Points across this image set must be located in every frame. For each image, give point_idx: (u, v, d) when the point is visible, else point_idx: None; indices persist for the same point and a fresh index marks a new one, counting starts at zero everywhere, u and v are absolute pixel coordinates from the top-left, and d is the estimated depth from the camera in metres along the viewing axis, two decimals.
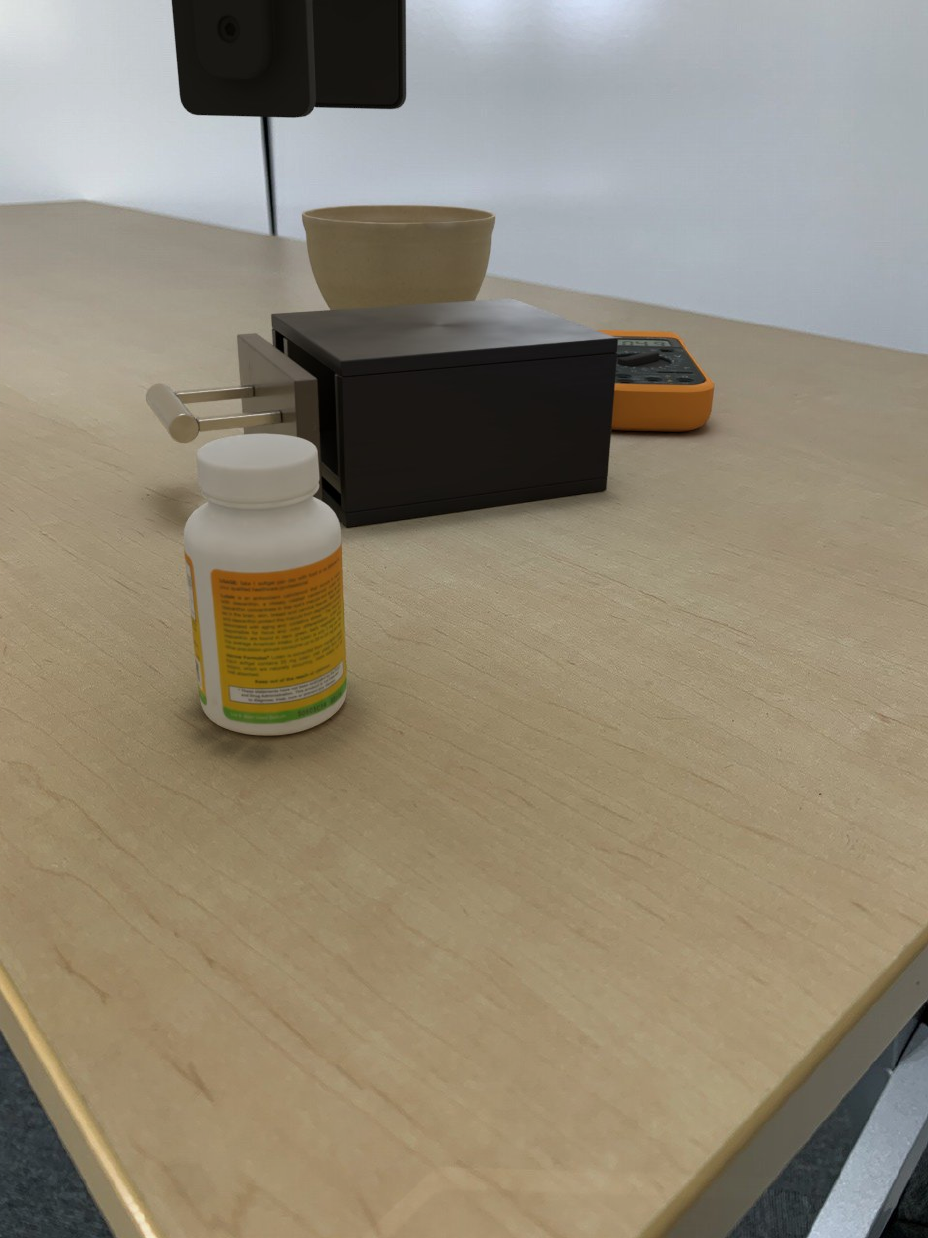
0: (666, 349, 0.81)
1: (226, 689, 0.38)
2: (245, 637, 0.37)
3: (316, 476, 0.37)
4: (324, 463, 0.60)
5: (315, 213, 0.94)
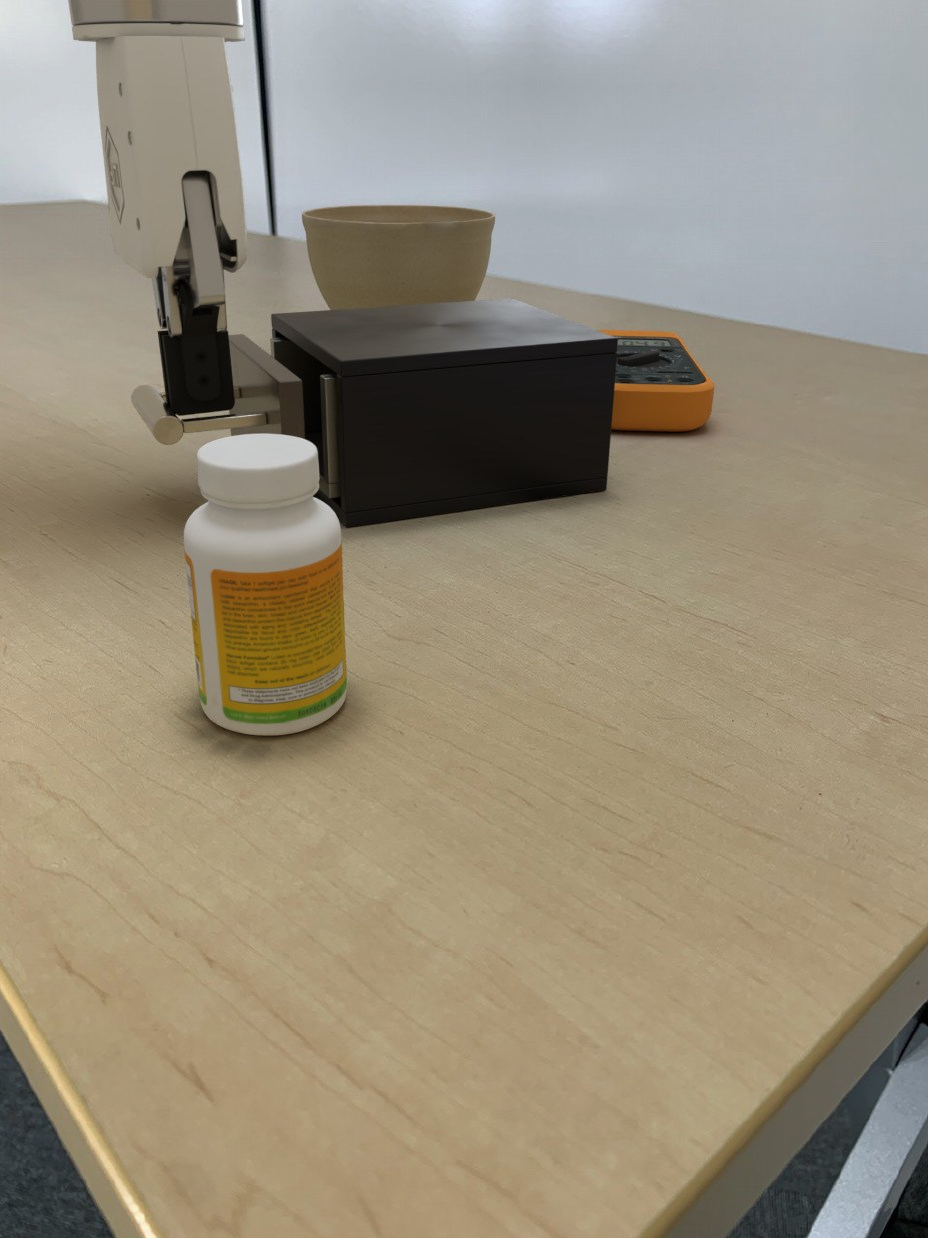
0: (666, 349, 0.81)
1: (226, 689, 0.38)
2: (246, 637, 0.37)
3: (316, 476, 0.37)
4: None
5: (315, 213, 0.94)
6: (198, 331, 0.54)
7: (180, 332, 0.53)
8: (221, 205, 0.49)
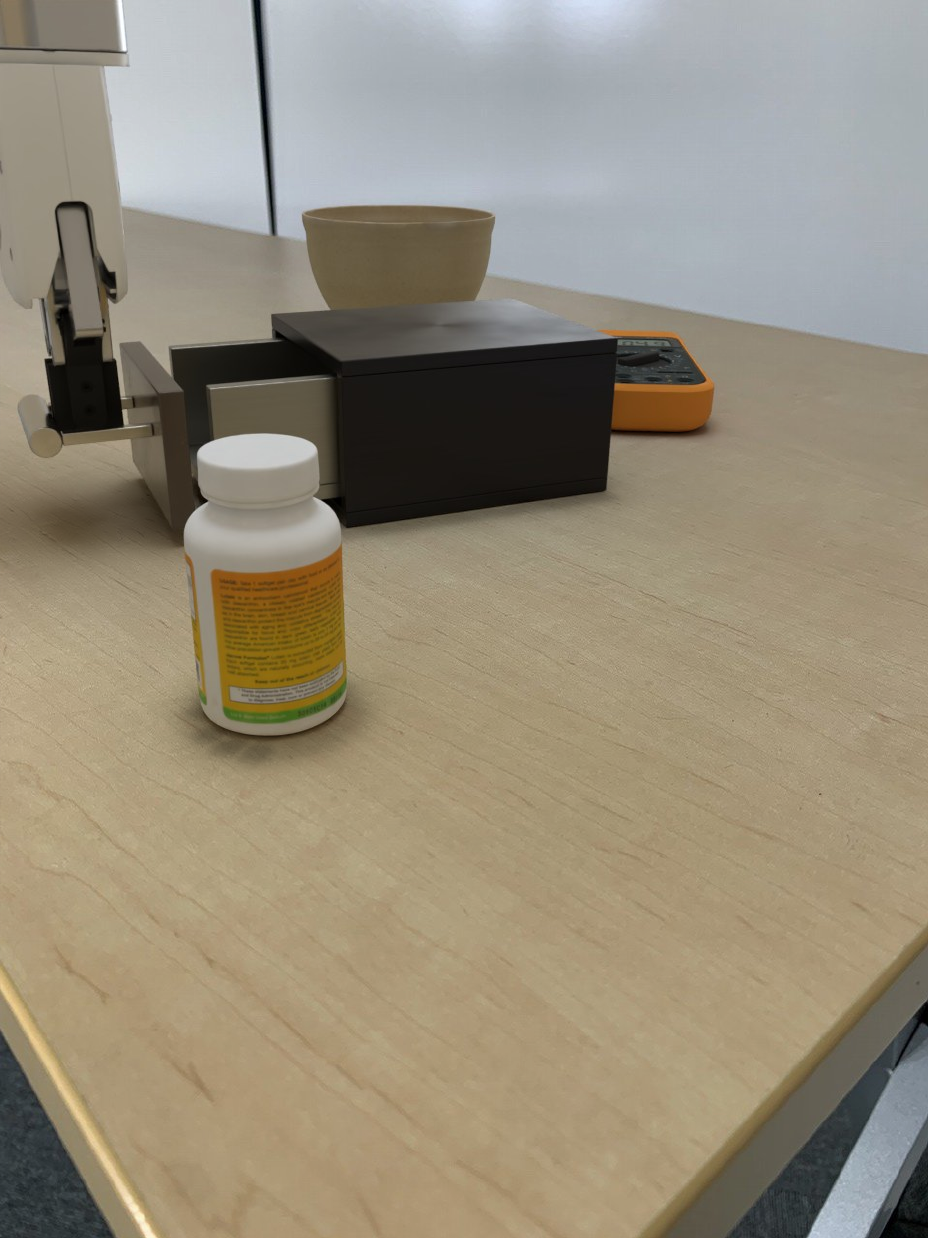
0: (666, 349, 0.81)
1: (226, 689, 0.38)
2: (246, 637, 0.37)
3: (316, 476, 0.37)
4: None
5: (315, 213, 0.94)
6: (82, 361, 0.52)
7: (63, 362, 0.52)
8: (98, 237, 0.48)
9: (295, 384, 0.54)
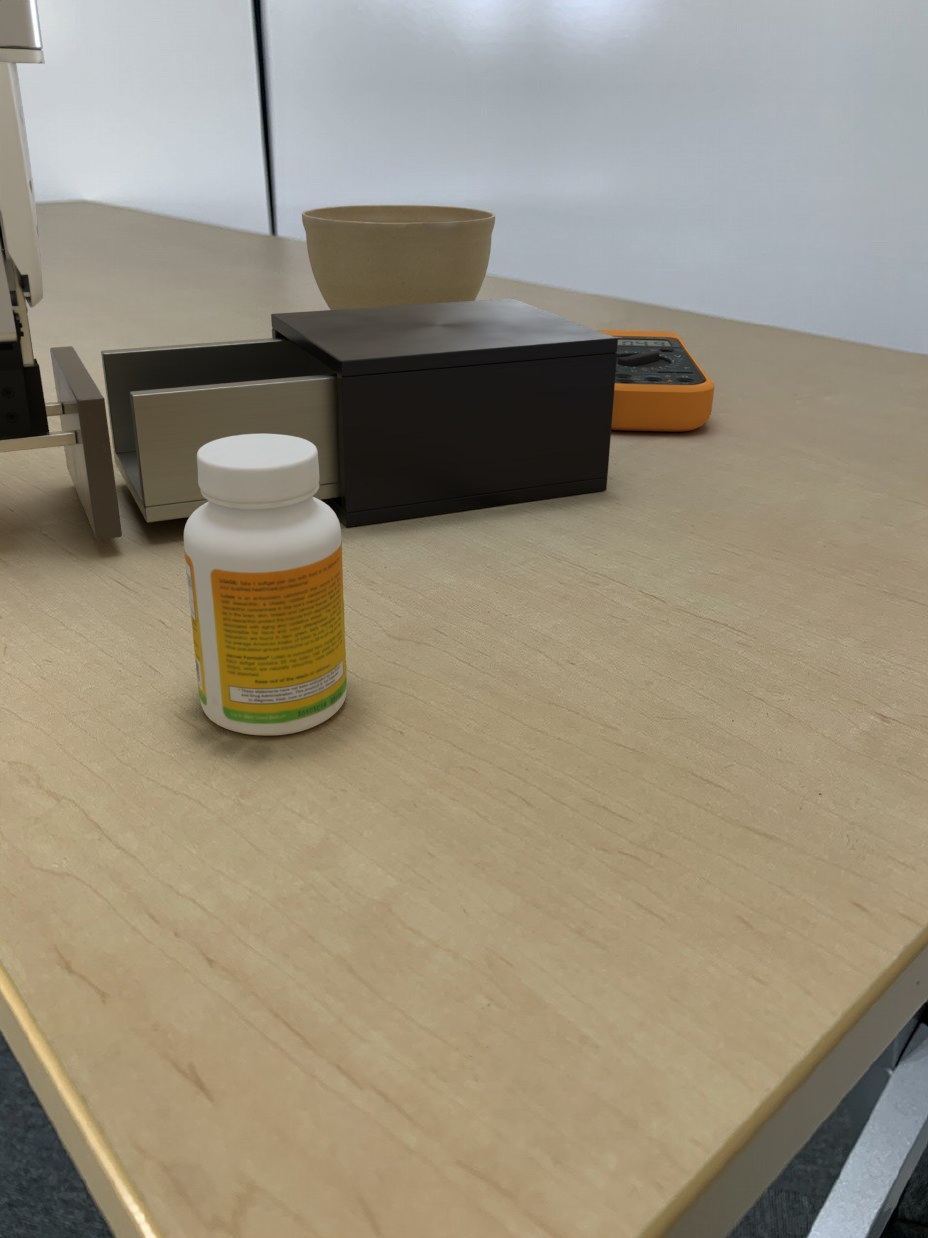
0: (666, 349, 0.81)
1: (226, 689, 0.38)
2: (245, 637, 0.37)
3: (316, 476, 0.37)
4: (135, 486, 0.56)
5: (315, 213, 0.94)
6: (2, 366, 0.51)
7: None
8: (8, 239, 0.46)
9: (223, 390, 0.53)
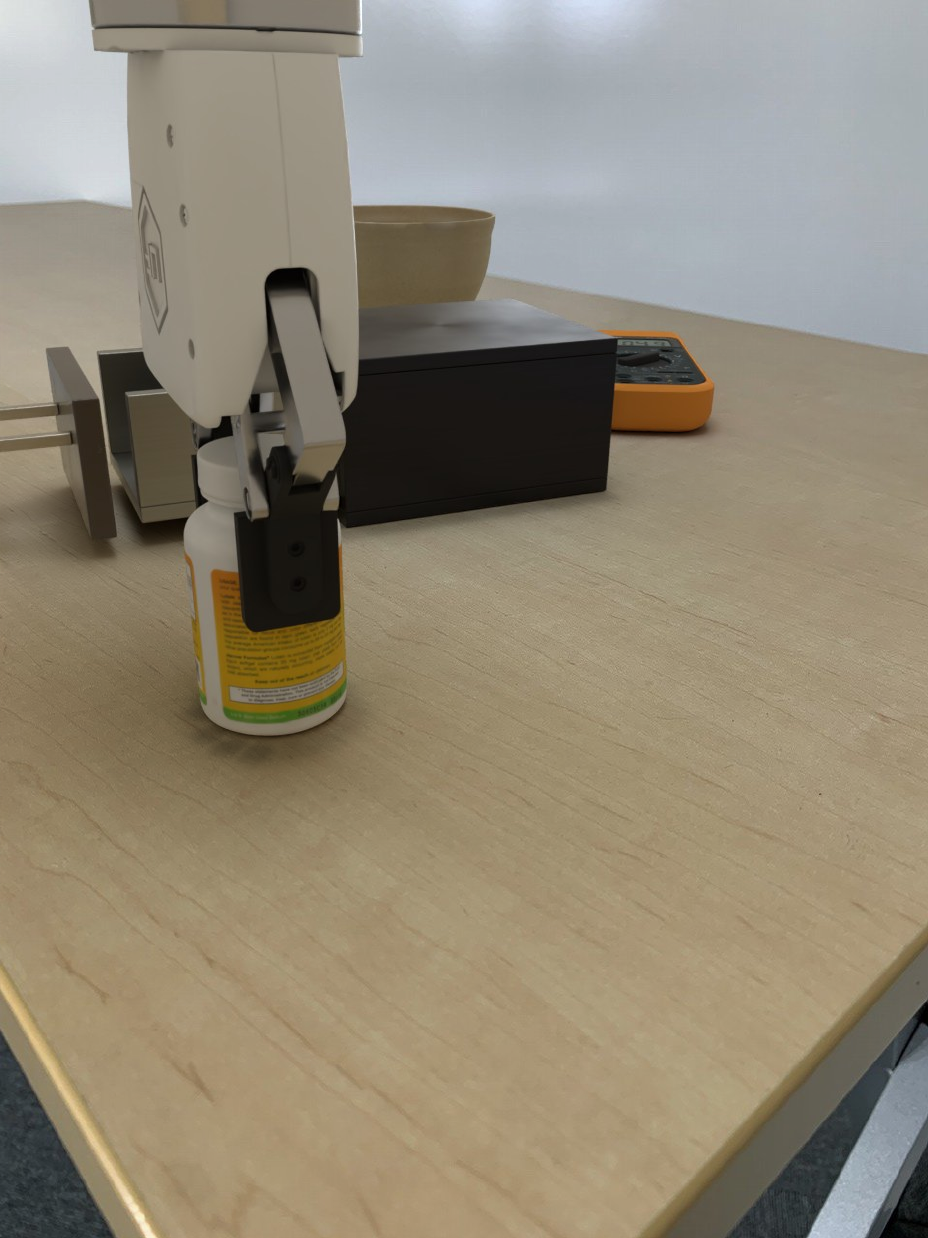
0: (666, 349, 0.81)
1: (226, 689, 0.38)
2: (246, 637, 0.37)
3: None
4: (131, 486, 0.56)
5: None
6: (294, 512, 0.33)
7: (265, 515, 0.33)
8: (324, 321, 0.31)
9: None
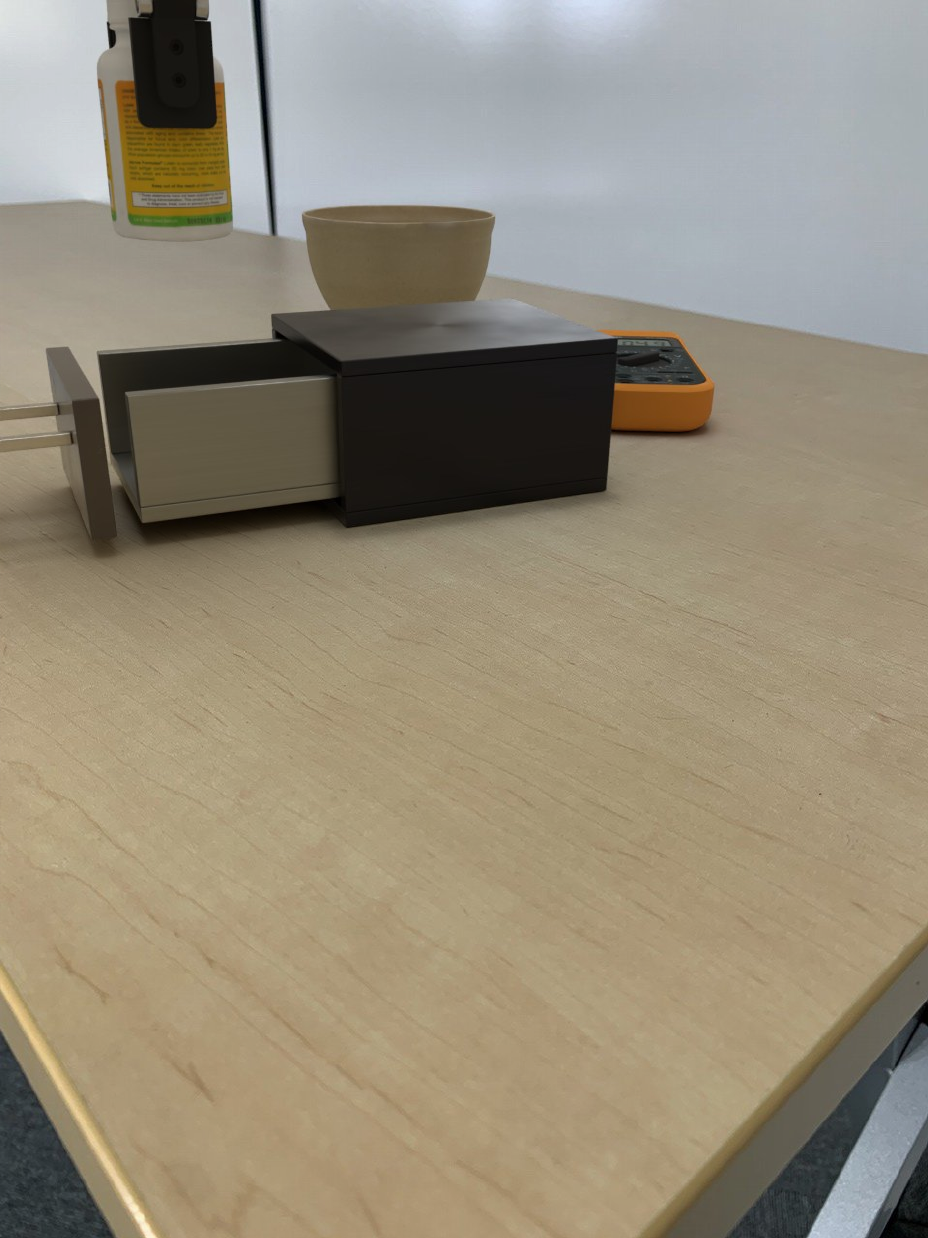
0: (666, 349, 0.81)
1: (129, 195, 0.48)
2: (143, 143, 0.47)
3: None
4: (131, 486, 0.56)
5: (315, 213, 0.94)
6: (173, 9, 0.43)
7: (150, 8, 0.43)
8: None
9: (218, 391, 0.52)
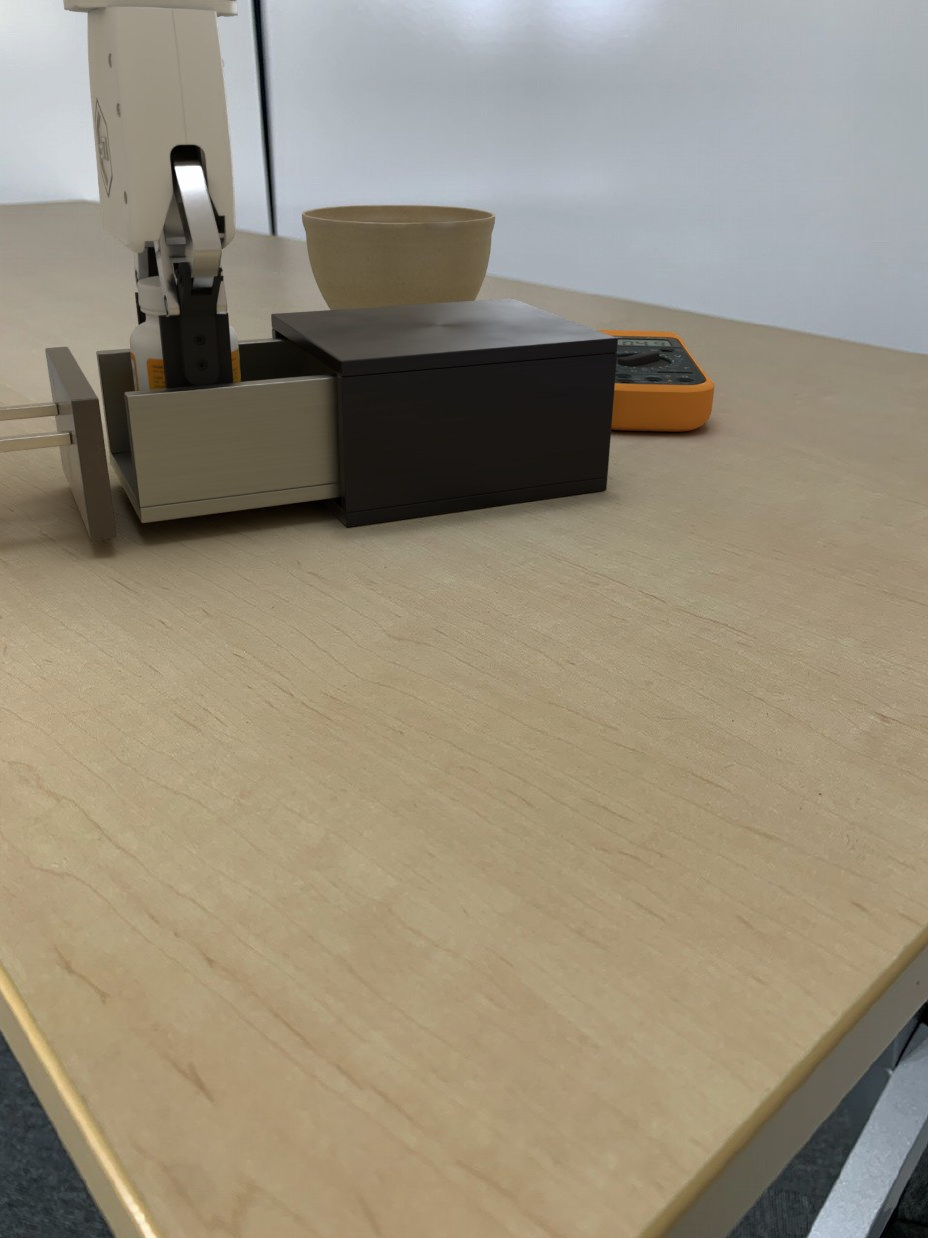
0: (666, 349, 0.81)
1: None
2: None
3: None
4: (130, 486, 0.56)
5: (315, 213, 0.94)
6: (197, 312, 0.51)
7: (178, 313, 0.51)
8: (209, 180, 0.48)
9: (218, 391, 0.52)
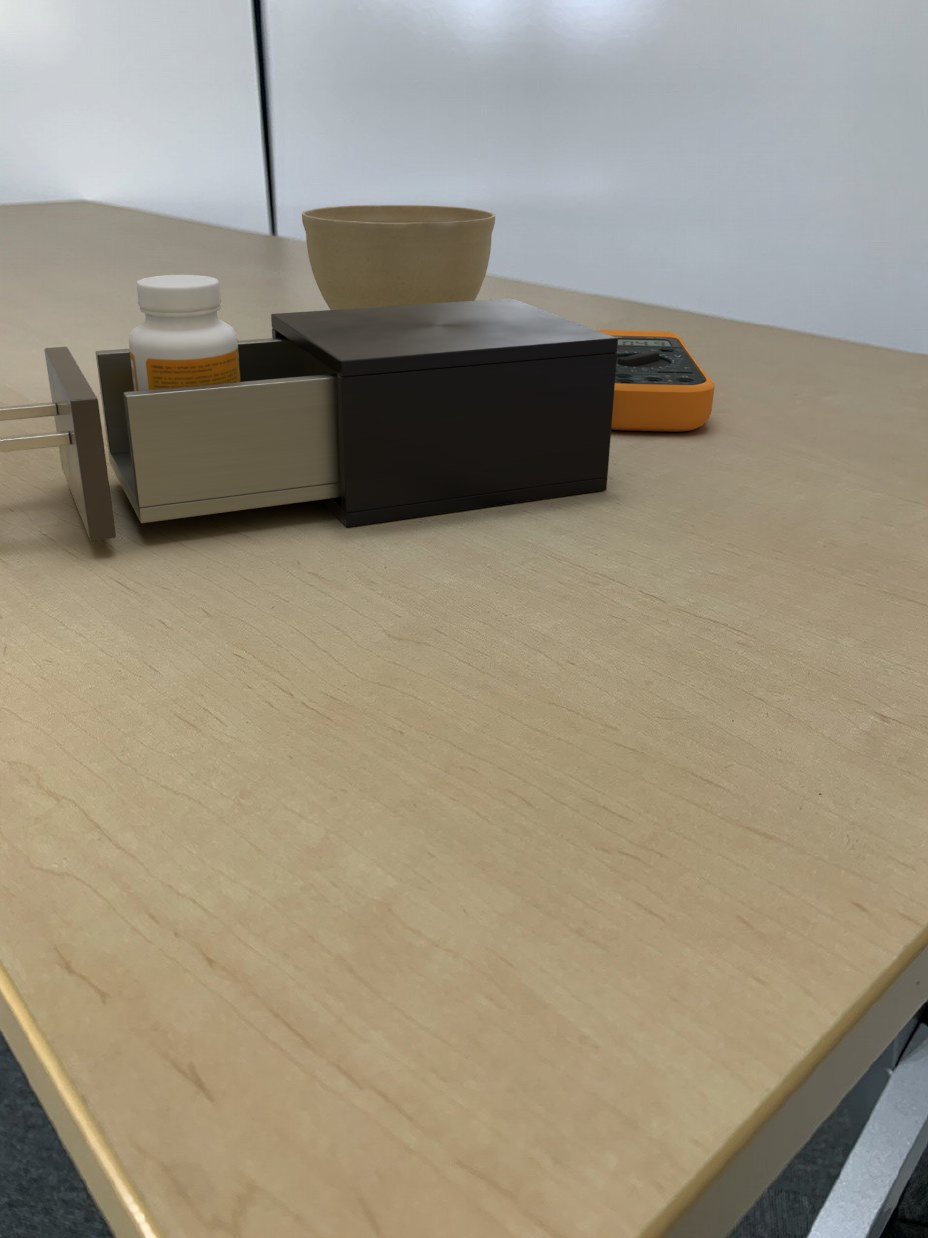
0: (666, 349, 0.81)
1: None
2: None
3: (217, 298, 0.54)
4: (130, 486, 0.56)
5: (315, 213, 0.94)
6: None
7: None
8: None
9: (217, 391, 0.52)
